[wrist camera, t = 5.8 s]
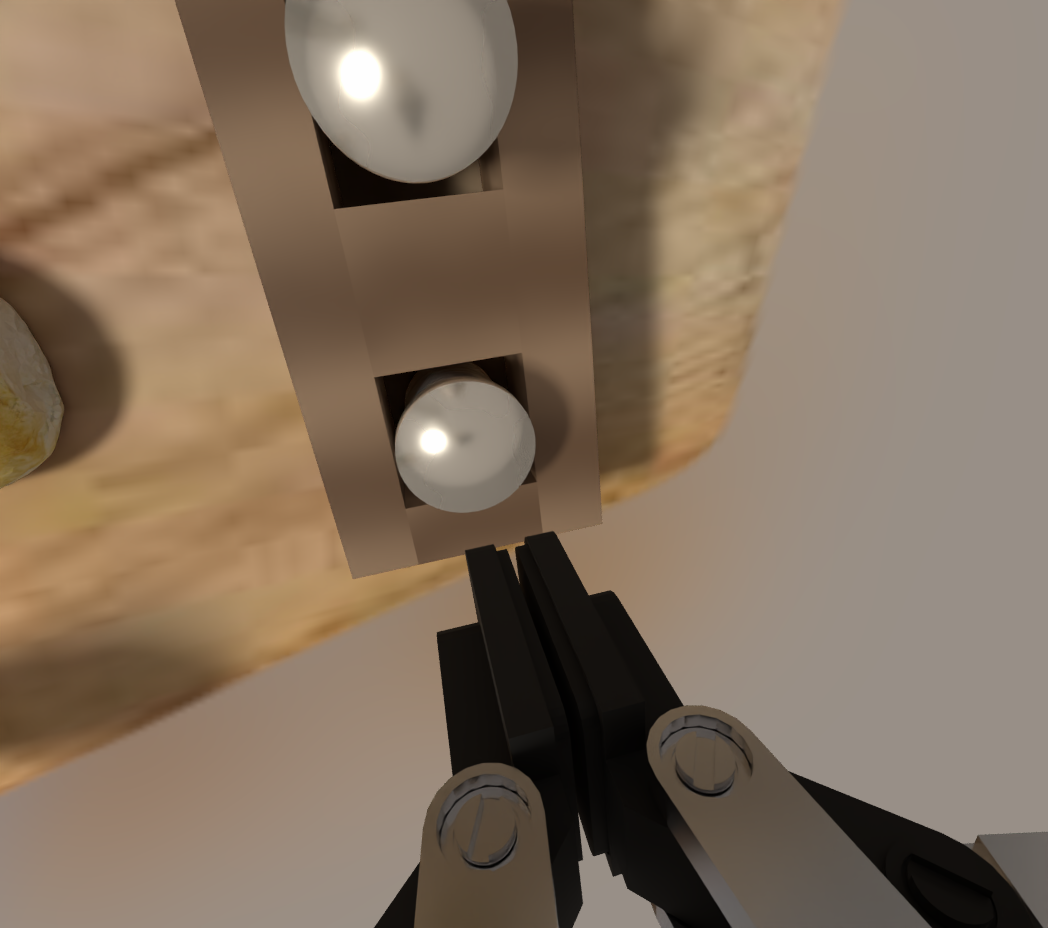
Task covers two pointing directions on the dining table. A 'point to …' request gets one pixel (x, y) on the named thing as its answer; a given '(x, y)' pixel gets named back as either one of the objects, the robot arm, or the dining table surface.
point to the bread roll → (25, 400)
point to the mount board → (416, 282)
